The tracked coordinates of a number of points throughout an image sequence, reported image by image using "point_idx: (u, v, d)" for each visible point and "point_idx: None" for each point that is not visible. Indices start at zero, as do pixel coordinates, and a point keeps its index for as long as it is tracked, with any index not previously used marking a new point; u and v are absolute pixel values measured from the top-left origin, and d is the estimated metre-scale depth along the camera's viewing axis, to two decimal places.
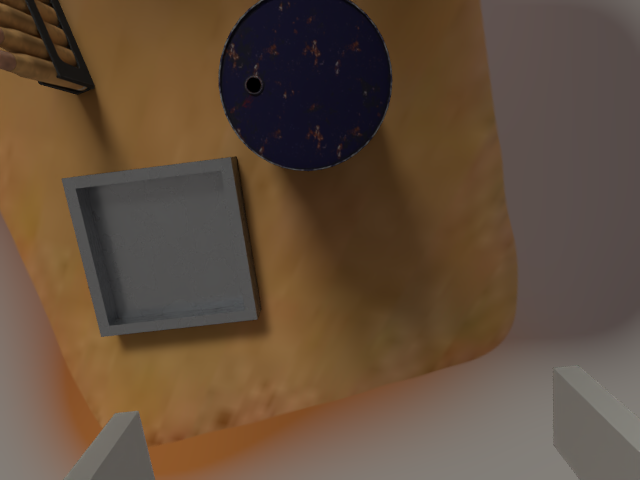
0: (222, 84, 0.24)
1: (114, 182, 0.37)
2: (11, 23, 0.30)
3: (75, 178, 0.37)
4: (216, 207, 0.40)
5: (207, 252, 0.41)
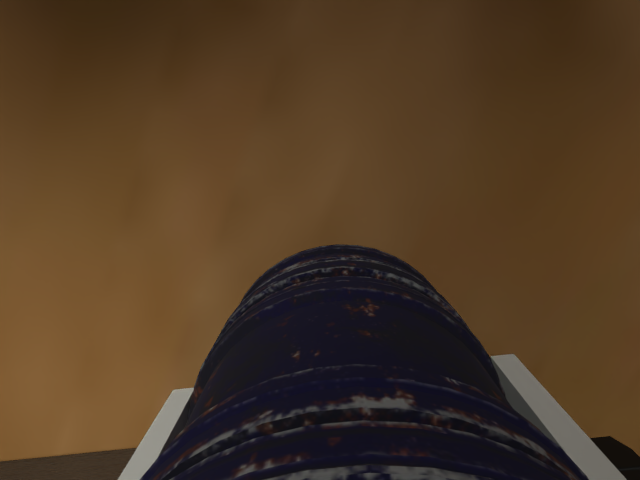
0: None
1: None
2: None
3: None
4: None
5: None
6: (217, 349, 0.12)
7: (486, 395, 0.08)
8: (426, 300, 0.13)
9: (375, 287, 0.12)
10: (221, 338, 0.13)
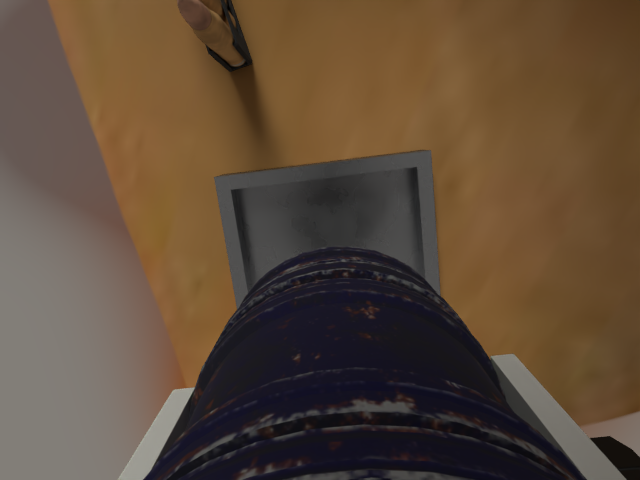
0: None
1: (280, 182, 0.30)
2: None
3: (231, 176, 0.30)
4: (395, 213, 0.32)
5: None
6: (217, 351, 0.12)
7: (486, 398, 0.08)
8: (426, 302, 0.13)
9: (375, 289, 0.12)
10: (221, 340, 0.13)
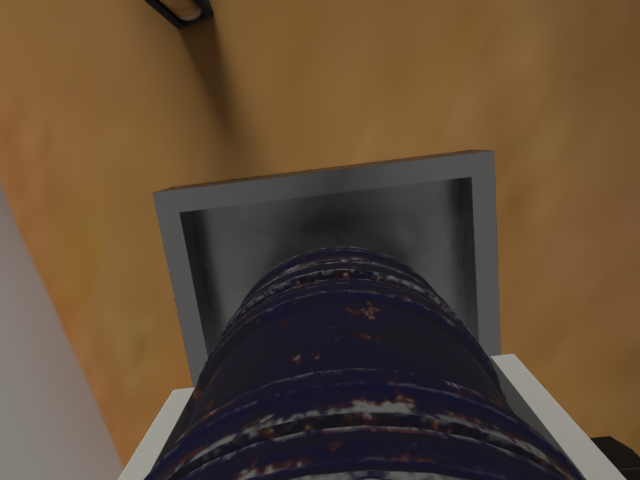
0: None
1: (256, 200, 0.19)
2: None
3: (180, 192, 0.19)
4: (431, 244, 0.21)
5: None
6: (217, 351, 0.12)
7: (486, 399, 0.08)
8: (426, 302, 0.13)
9: (375, 290, 0.12)
10: (221, 340, 0.13)
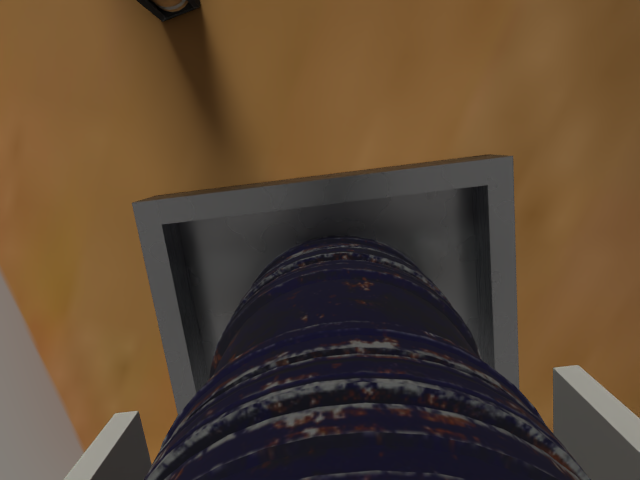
0: None
1: (248, 211, 0.17)
2: None
3: (162, 202, 0.17)
4: (441, 259, 0.19)
5: None
6: (234, 322, 0.14)
7: (457, 345, 0.10)
8: (414, 280, 0.15)
9: (370, 268, 0.14)
10: (237, 313, 0.15)
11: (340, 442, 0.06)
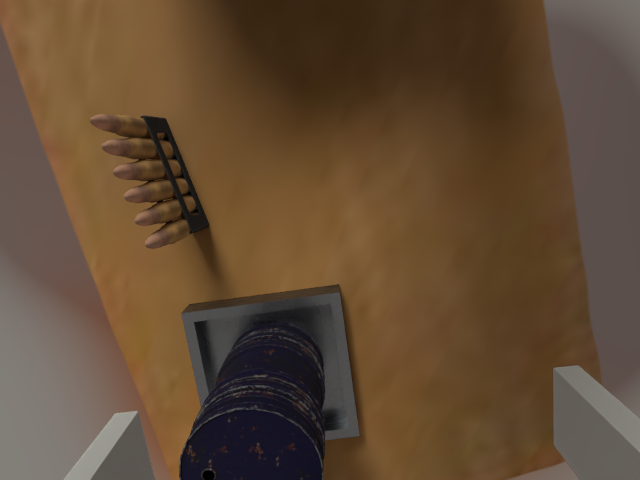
0: (182, 474, 0.29)
1: (230, 316, 0.40)
2: (160, 197, 0.33)
3: (194, 313, 0.40)
4: (319, 331, 0.42)
5: None
6: (224, 365, 0.37)
7: (289, 375, 0.33)
8: (294, 347, 0.38)
9: (275, 344, 0.37)
10: (225, 361, 0.38)
11: (243, 398, 0.29)
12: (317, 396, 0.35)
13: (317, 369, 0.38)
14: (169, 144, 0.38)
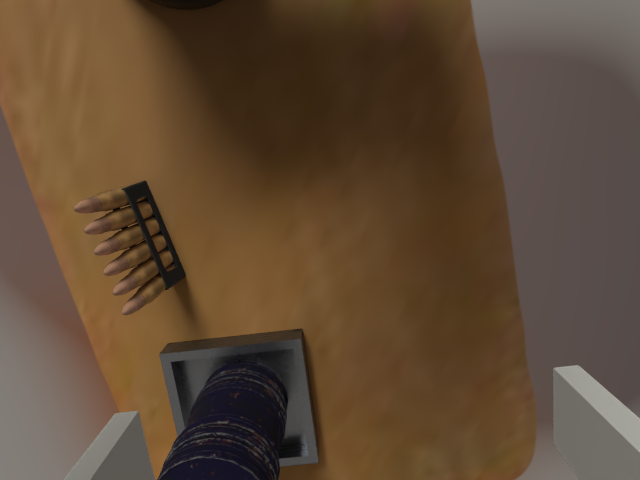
0: None
1: (203, 357, 0.45)
2: (138, 263, 0.38)
3: (171, 354, 0.45)
4: (284, 369, 0.47)
5: None
6: (195, 404, 0.42)
7: (248, 420, 0.38)
8: (257, 389, 0.43)
9: (241, 386, 0.42)
10: (197, 400, 0.43)
11: (205, 445, 0.34)
12: (275, 435, 0.40)
13: (278, 408, 0.43)
14: (148, 206, 0.43)
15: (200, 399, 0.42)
